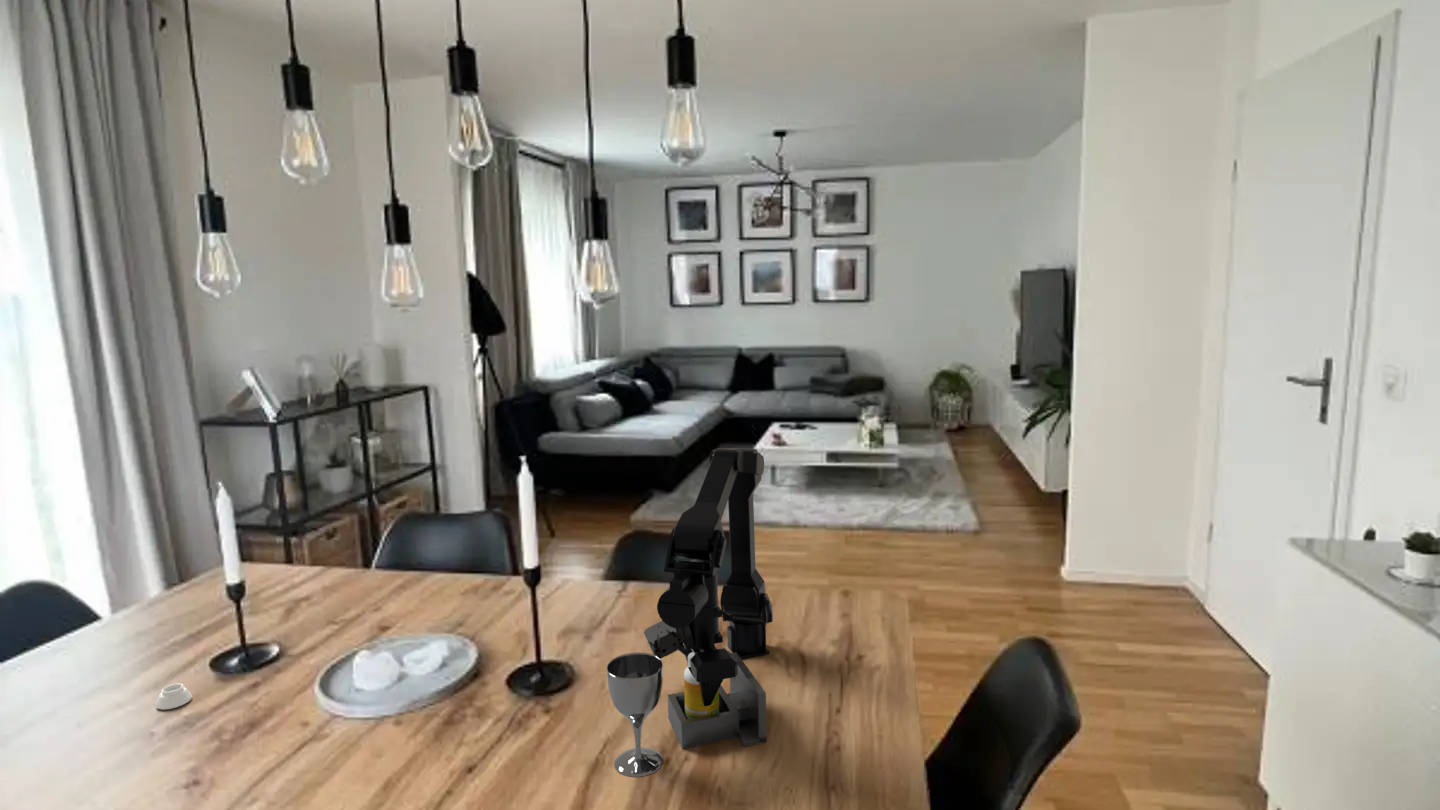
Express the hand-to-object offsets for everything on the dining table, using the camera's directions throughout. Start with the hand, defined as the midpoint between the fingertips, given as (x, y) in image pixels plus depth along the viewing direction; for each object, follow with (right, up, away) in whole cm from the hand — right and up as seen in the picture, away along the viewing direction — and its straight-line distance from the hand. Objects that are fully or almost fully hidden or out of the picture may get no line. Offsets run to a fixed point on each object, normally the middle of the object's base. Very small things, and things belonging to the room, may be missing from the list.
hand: (702, 696), depth 121 cm
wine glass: (-9, -7, -8) cm, 14 cm away
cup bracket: (+2, -5, +1) cm, 5 cm away
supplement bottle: (0, -3, 0) cm, 3 cm away
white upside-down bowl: (-91, -6, +12) cm, 92 cm away
